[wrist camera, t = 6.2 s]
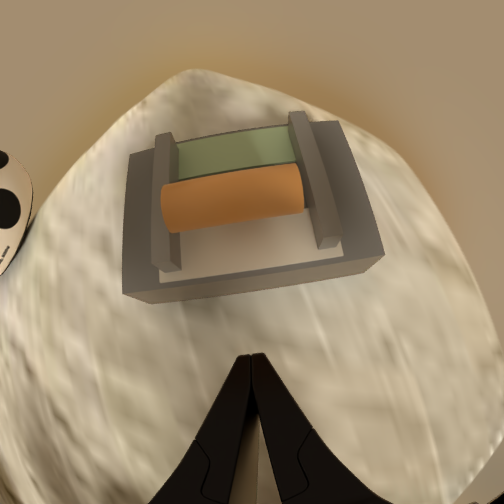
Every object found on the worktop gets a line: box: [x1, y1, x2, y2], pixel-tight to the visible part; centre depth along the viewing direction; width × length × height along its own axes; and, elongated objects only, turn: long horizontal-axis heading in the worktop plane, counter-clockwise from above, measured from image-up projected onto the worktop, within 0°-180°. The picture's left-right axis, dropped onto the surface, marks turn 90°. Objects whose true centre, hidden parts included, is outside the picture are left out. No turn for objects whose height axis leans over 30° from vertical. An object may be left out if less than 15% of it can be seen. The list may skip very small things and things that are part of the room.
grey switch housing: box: [122, 111, 385, 304], centre depth 21 cm, size 12×18×7 cm, turn 98°
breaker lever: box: [161, 163, 304, 233], centre depth 15 cm, size 2×6×10 cm
